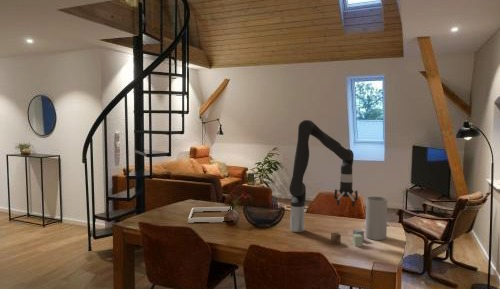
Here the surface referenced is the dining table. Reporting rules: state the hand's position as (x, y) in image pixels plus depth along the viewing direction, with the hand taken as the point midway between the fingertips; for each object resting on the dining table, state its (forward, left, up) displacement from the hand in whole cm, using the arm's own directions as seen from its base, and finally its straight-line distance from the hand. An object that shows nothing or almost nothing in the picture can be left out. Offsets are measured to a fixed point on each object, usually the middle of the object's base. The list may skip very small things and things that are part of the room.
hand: (345, 206), depth 225 cm
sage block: (+3, -14, -20) cm, 25 cm away
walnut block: (-9, -10, -20) cm, 25 cm away
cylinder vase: (+20, -1, -21) cm, 28 cm away
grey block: (+7, -5, -20) cm, 22 cm away
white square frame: (-87, +57, -20) cm, 106 cm away
